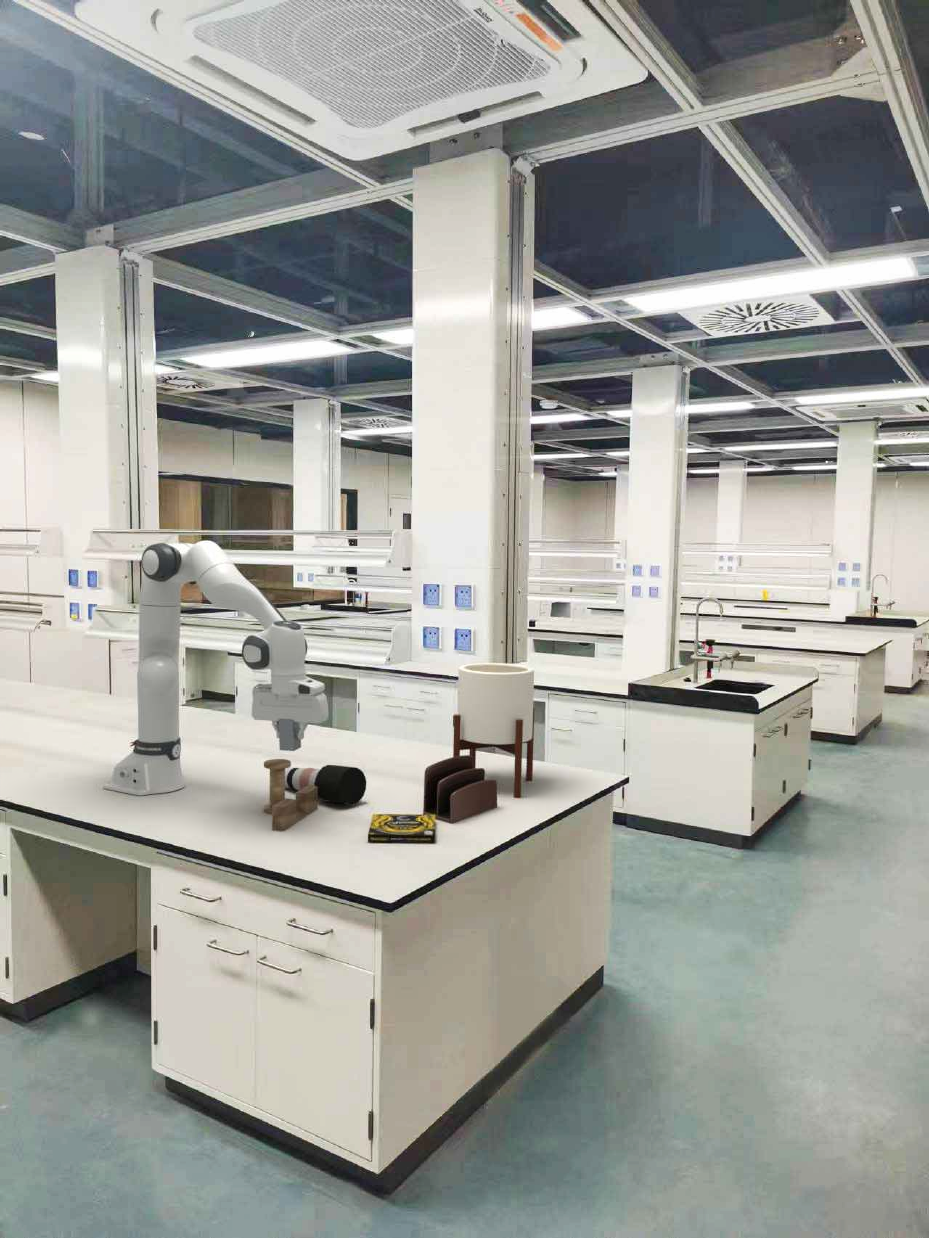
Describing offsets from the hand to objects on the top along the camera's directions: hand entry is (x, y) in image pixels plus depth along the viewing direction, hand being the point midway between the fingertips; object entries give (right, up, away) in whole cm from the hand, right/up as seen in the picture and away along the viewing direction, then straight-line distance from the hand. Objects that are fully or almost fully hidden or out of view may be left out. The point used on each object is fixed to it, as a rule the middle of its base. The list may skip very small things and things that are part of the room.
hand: (290, 738), depth 216 cm
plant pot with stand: (+53, -20, +37) cm, 68 cm away
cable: (+2, -20, +24) cm, 31 cm away
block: (0, -3, 0) cm, 3 cm away
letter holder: (+44, -22, +12) cm, 50 cm away
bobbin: (-5, -20, +9) cm, 23 cm away
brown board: (+1, -21, +2) cm, 21 cm away
